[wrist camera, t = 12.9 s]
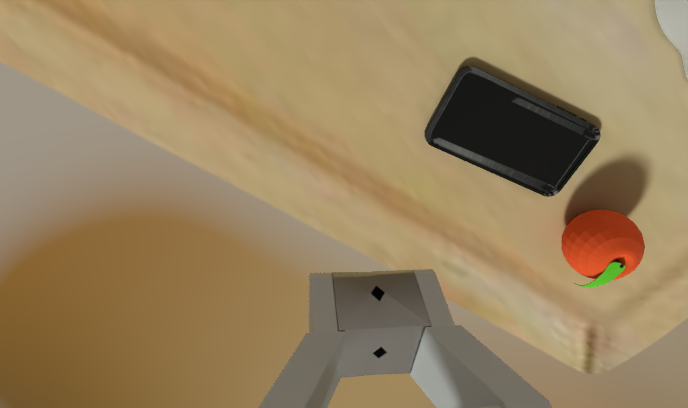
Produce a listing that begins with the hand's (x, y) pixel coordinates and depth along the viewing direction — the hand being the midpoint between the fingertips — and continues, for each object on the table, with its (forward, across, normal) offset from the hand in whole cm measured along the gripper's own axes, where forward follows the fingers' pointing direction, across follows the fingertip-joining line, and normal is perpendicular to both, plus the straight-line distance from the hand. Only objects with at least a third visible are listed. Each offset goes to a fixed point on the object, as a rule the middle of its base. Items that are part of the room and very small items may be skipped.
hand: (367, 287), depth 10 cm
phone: (+27, +19, -10) cm, 34 cm away
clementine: (+24, +29, -20) cm, 42 cm away
